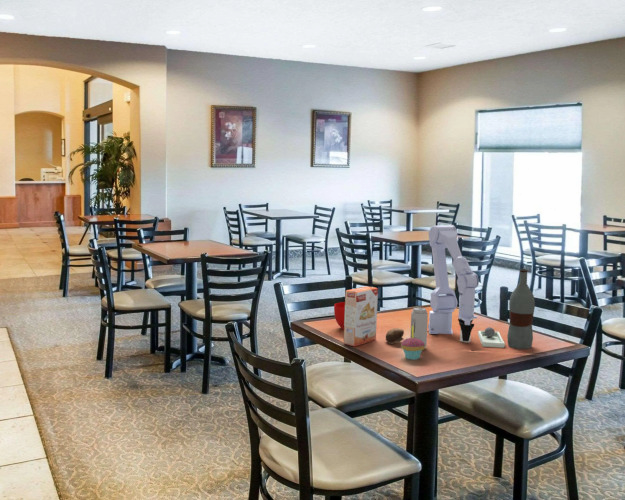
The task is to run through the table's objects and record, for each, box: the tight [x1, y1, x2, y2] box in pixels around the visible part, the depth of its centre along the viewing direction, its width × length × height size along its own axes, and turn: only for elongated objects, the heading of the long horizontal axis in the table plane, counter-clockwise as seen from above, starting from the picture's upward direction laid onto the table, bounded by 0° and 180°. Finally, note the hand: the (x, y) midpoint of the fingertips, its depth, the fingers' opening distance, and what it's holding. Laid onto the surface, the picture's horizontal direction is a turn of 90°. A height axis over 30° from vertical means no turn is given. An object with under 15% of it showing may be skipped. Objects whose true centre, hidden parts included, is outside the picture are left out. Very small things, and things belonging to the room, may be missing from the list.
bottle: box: [507, 268, 536, 350], centre depth 244 cm, size 9×9×30 cm
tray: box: [477, 330, 506, 349], centre depth 253 cm, size 8×18×2 cm, turn 171°
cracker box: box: [343, 285, 379, 347], centre depth 249 cm, size 14×6×21 cm, turn 139°
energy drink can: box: [409, 307, 429, 348], centre depth 242 cm, size 6×6×15 cm
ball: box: [483, 326, 496, 337], centre depth 258 cm, size 4×4×4 cm
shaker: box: [459, 328, 472, 344], centre depth 252 cm, size 4×4×6 cm
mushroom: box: [385, 327, 405, 345], centre depth 250 cm, size 8×8×6 cm
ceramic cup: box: [333, 301, 345, 331], centre depth 272 cm, size 13×17×10 cm
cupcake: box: [400, 323, 426, 361], centre depth 230 cm, size 9×8×12 cm
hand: (465, 339), depth 252 cm, fingers open, 5 cm apart
